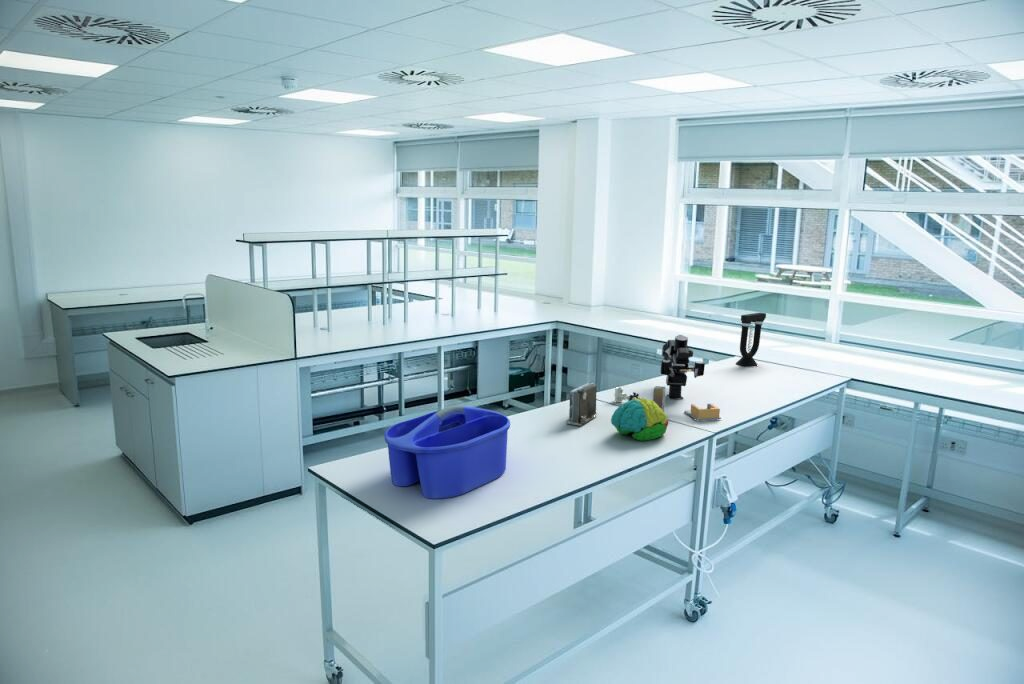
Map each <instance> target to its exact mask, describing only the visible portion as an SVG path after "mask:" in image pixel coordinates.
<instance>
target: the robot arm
mask: <svg viewBox="0 0 1024 684" xmlns="http://www.w3.org/2000/svg"><path fill="white" fill-rule="evenodd" d="M688 343H689V338H688V337H687V336H685V335H683V334H678V335H676V336H675V337H674V339H668V340H667V341H666V343H664V344H663V345H662V349H661V356H662V358H663V359H662V360H661V361H660V369H659V370H660V371H659V372H660V374H661V375H664V376H666V379H665V384H666V386H668V394H667V393H666V395H667V396H668V397H669V398H670V400H683V399H684V397H683V396H682V390H683V389H682V387H685V386H686V385H687V382H688V376H687V373H688V372H693V377H694V379H697V377H703V376H704V375H705V365H706V364H705V362H704V361H694V365H689V364H690V358H693V356H694V350H693V349H691V348H689V346H688ZM667 396H666V397H667ZM669 398H668V399H669Z"/></svg>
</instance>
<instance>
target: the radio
mask: <svg viewBox="0 0 1024 684" xmlns="http://www.w3.org/2000/svg"><path fill="white" fill-rule="evenodd" d="M568 413H569V414H568V415H569V418H568V419H566V424H568V425H572V426H573V425H574V426H580V427H582V426H584V425H585V424H587V423H588V422H591V421H593V419H594V420H595V418H596V417H594V415H595V414H596V413H597V385H596V384H595V383H594V382H588V383H585V384H583V385H580V386H577V388H573V389H572V390H570V392H569V411H568ZM596 415H597V414H596ZM596 415H595V416H596Z"/></svg>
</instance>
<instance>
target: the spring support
mask: <svg viewBox="0 0 1024 684" xmlns="http://www.w3.org/2000/svg"><path fill="white" fill-rule="evenodd" d="M766 318H767V313H766V312H754V313H747V314H741V316H740V321H741V332H740V333H741V334H740V341H739V352H740V354H741V358H740V359H739V360H737V361H736V363H735V364H736V365H738V366H741V367H746V366H757V365H758V363H757V361H756V360H755V359H754V356H755V355H756V354H757V352H758V351H759V346H760V341H761V333H762V332H761V331H762V326H763V323H764V321H765V319H766ZM753 325H754V326H753ZM748 333H749V334H748ZM757 367H758V366H757Z"/></svg>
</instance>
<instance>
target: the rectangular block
mask: <svg viewBox="0 0 1024 684" xmlns="http://www.w3.org/2000/svg"><path fill="white" fill-rule="evenodd" d="M652 395H653V396H652V397H653V398H652V401H654V402H655V403H656V404H657V405H658V406H659V408H661V409H662V410H663V411H664V412H665V400H666V386H661V385H660V386H659V385H655V386H654V387H653V392H652Z"/></svg>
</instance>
